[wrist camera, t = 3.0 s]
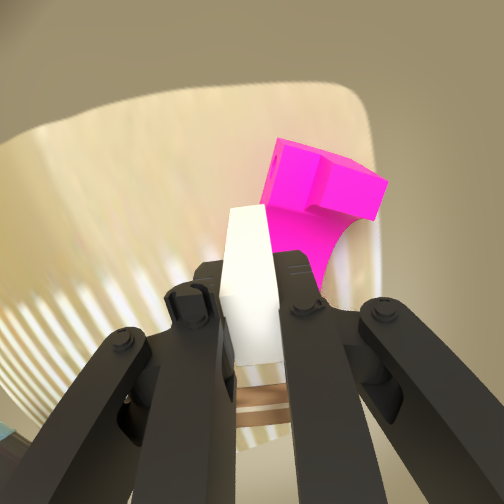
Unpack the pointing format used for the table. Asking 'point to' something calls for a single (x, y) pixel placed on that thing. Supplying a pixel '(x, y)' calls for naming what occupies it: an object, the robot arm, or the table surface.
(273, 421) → the walnut plank
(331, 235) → the toy block
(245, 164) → the table surface
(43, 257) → the table surface
